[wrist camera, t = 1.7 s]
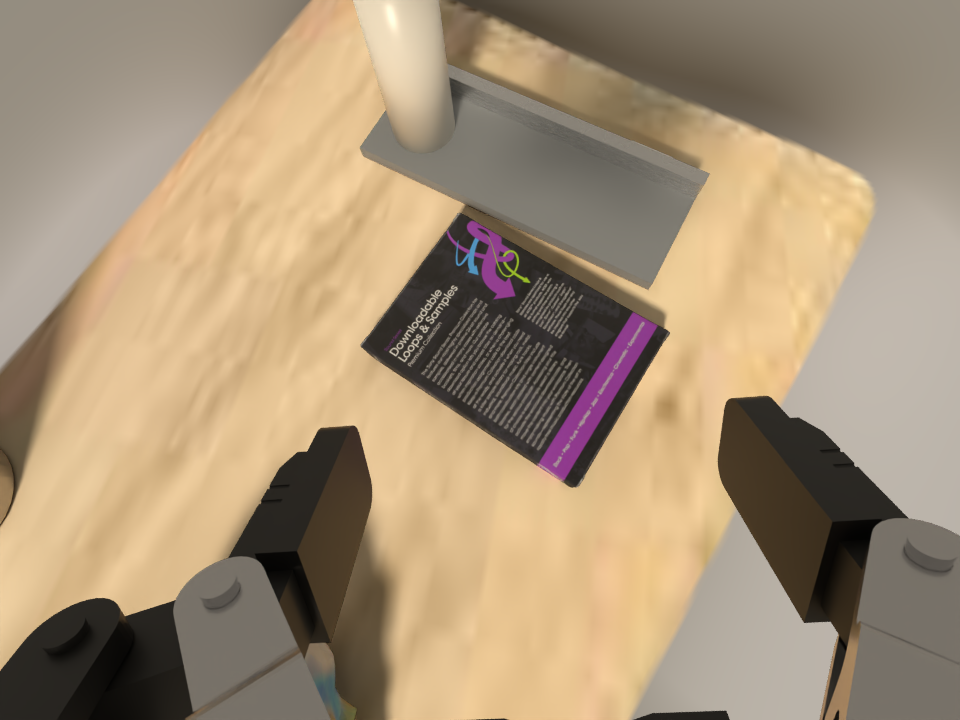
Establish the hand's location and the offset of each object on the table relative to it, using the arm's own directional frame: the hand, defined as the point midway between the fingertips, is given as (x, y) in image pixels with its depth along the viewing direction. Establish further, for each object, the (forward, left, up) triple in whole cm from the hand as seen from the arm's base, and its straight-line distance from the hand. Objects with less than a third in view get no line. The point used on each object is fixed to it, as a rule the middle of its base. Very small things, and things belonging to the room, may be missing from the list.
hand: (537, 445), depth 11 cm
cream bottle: (-22, +23, -27) cm, 42 cm away
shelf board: (-12, +24, -28) cm, 39 cm away
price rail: (-12, +28, -27) cm, 41 cm away
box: (-5, +9, -29) cm, 31 cm away
